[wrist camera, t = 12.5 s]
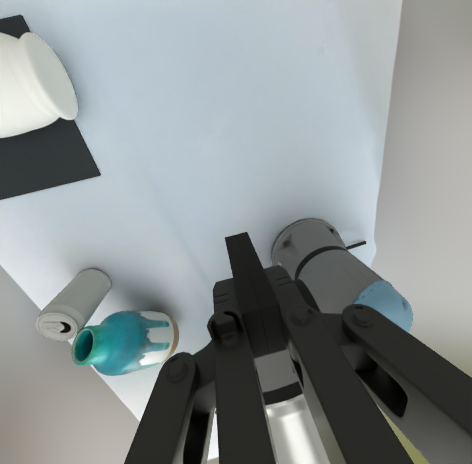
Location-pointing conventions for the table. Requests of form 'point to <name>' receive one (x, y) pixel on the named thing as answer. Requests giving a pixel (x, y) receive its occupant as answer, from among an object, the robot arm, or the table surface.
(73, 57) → the table surface
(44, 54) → the jar
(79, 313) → the beverage can
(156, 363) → the vase
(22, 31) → the mat
